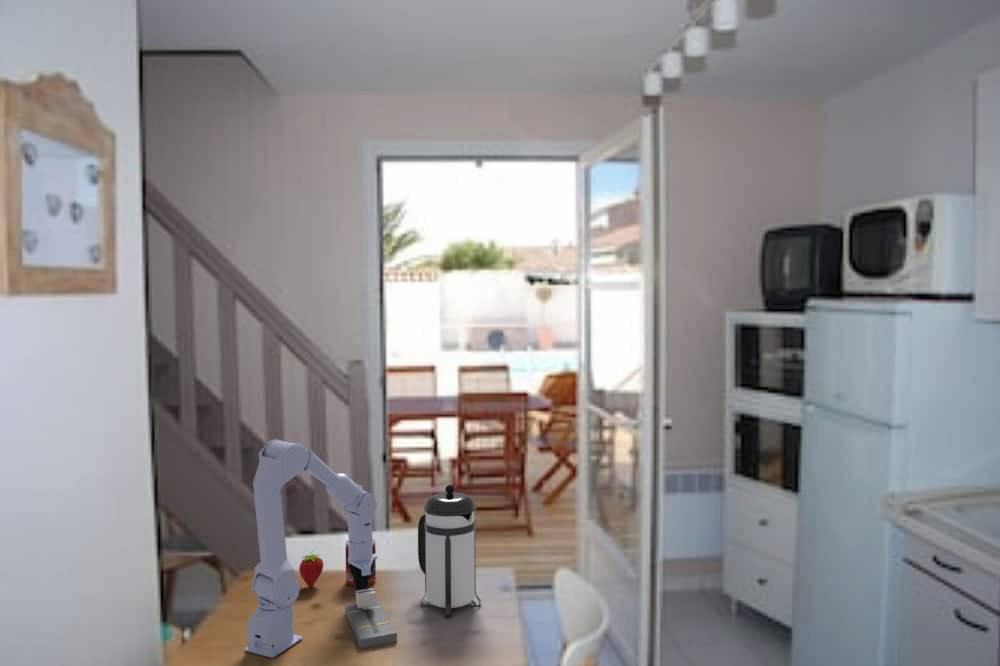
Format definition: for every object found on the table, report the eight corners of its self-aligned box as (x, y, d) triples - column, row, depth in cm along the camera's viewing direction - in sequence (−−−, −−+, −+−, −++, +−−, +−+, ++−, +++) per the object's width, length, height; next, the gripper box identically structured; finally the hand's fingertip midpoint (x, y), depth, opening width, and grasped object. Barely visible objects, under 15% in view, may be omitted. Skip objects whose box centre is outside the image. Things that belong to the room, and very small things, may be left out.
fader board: (397, 641, 148) (396, 632, 148) (360, 648, 145) (360, 639, 145) (378, 607, 166) (378, 599, 166) (345, 613, 163) (345, 604, 163)
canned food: (372, 587, 178) (372, 546, 178) (342, 587, 179) (342, 546, 178) (378, 576, 186) (378, 537, 186) (349, 576, 186) (349, 537, 186)
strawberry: (327, 581, 183) (327, 545, 182) (316, 593, 175) (316, 554, 175) (306, 580, 183) (306, 544, 183) (295, 592, 176) (294, 554, 176)
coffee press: (484, 592, 175) (484, 477, 174) (476, 619, 159) (475, 493, 158) (419, 590, 177) (418, 475, 176) (404, 617, 161) (403, 491, 160)
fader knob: (375, 609, 160) (375, 592, 160) (358, 612, 158) (358, 595, 158) (372, 604, 162) (372, 587, 162) (356, 607, 161) (355, 590, 161)
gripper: (383, 546, 160) (383, 603, 161) (370, 529, 174) (371, 581, 174) (353, 550, 158) (353, 608, 158) (342, 532, 171) (343, 585, 171)
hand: (360, 594), depth 166 cm, fingers closed
